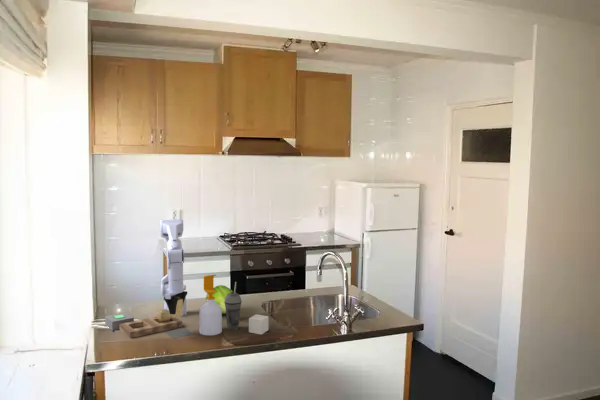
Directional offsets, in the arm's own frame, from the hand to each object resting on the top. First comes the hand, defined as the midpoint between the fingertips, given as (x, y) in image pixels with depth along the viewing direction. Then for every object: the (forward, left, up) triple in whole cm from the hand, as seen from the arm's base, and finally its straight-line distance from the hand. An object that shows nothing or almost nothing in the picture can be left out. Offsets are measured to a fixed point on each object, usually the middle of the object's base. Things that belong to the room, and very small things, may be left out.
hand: (176, 311), depth 208 cm
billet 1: (+1, -11, -9) cm, 15 cm away
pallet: (+6, -11, -9) cm, 16 cm away
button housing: (+15, -23, -9) cm, 29 cm away
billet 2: (0, 0, -2) cm, 2 cm away
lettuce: (-28, -11, -10) cm, 32 cm away
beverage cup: (-22, +8, -10) cm, 25 cm away
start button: (+15, -23, -8) cm, 29 cm away
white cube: (-29, +17, -10) cm, 35 cm away
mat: (-1, +1, -9) cm, 9 cm away
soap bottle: (-12, +7, -10) cm, 17 cm away
